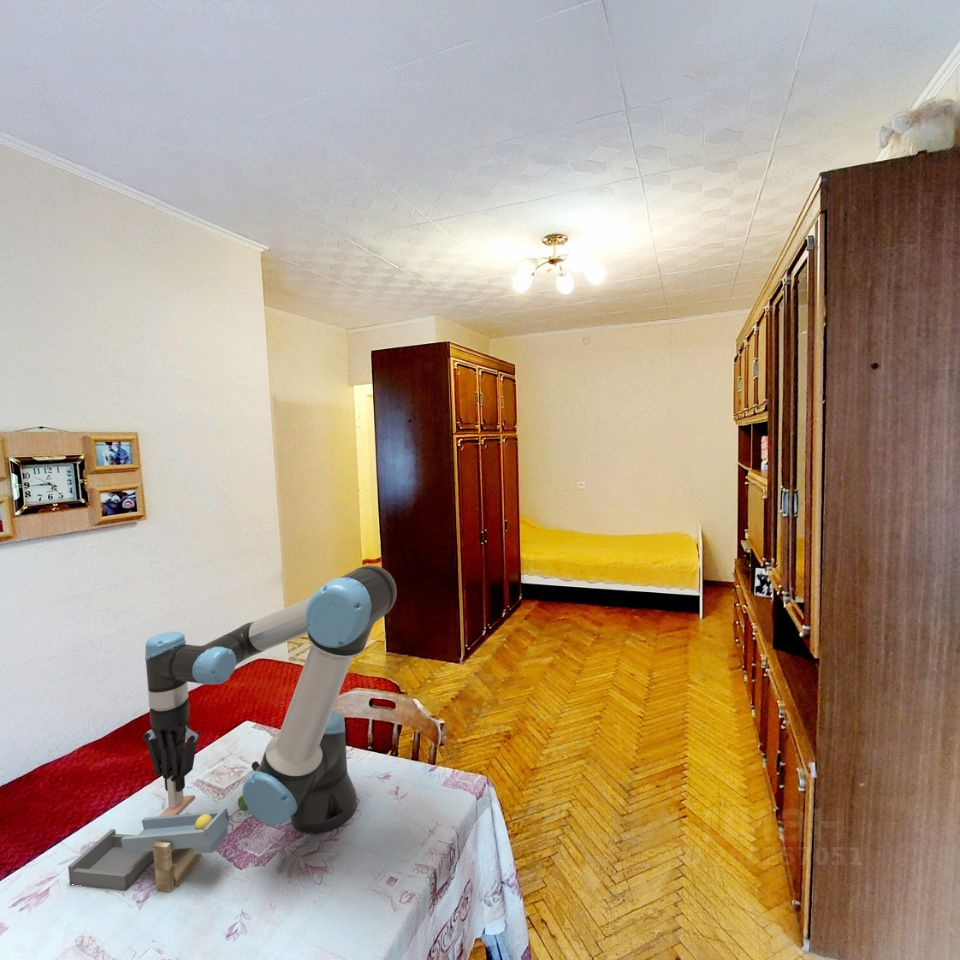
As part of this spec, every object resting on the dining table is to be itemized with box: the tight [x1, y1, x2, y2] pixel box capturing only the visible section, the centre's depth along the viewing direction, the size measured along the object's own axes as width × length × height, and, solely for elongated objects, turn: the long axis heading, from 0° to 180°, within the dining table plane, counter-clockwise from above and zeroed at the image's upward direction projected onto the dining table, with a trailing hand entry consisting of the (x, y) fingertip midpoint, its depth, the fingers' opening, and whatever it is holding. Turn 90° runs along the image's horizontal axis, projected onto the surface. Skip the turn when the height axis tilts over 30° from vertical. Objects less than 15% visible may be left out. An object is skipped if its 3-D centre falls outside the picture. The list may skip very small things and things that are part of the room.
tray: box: [67, 828, 154, 892], centre depth 105 cm, size 13×10×4 cm
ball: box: [195, 814, 213, 830], centre depth 102 cm, size 3×3×3 cm
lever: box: [121, 794, 231, 855], centre depth 107 cm, size 20×16×5 cm
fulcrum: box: [153, 812, 203, 893], centre depth 103 cm, size 4×9×10 cm, turn 171°
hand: (176, 803), depth 113 cm, fingers closed
